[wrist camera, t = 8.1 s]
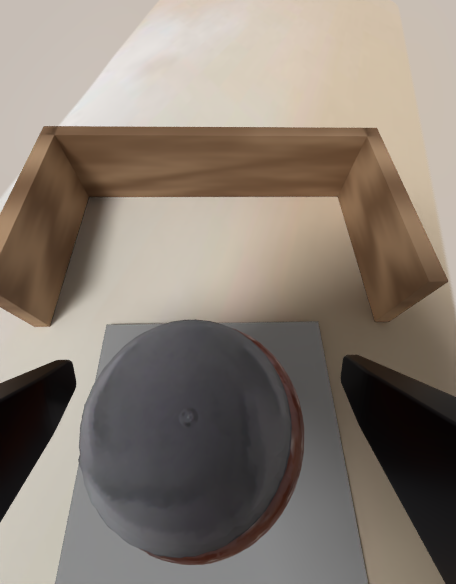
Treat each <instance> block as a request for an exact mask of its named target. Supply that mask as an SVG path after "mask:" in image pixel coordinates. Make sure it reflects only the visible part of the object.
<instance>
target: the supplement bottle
mask: <svg viewBox="0 0 456 584" xmlns="http://www.w3.org/2000/svg"><path fill="white" fill-rule="evenodd" d="M79 449H80V456H79V459H78V460H79V466H80V468H81V470H82V474H83V480H84V485H85V487H86V490H87V493H88V496H89V498H90V501H91V503H92V505H93V506H94V507H95V508H96V510H97V512H98V513H99V515H100V517H101V518H102V519H103V521H104V522H105V523H106V525H107V526H108V527H109V528H110V529H111V530H113V531H114V532H115V533H117V534H118V535H119V536H120V537H121V538H122V539H123V540H124V541H126V542H127V543H128V544H130V545H132V546H134V547H137V548H139V549H140V550H142V551H144V552H146V553H147V554H149V555H150V556H152V557H155V558H157V559H160V560H162V561H167V562H171V563H176V564H181V565H204V564H211V563H215V562H218V561H222V560H224V559H227V558H229V557H232V556H234V555H236V554H238V553H240V552H242V551H243V550H245V549H247V548H249V547H250V546H252V545H253V544H254V543H256V542H257V541H258V540H259V539H260V538H261V537H262V536H263V535H264V534H266V533H267V532H268V531H269V530H270V529H271V527H272V526H273V525H274V524H275V522H276V521H277V520H278V518H279V517H280V516H281V514H282V513H283V511H284V509H285V508H286V506H287V504H288V502H289V500H290V498H291V496H292V494H293V492H294V490H295V487H296V484H297V481H298V478H299V474H300V471H301V467H302V460H303V454H304V422H303V415H302V411H301V406H300V402H299V398H298V396H297V393H296V390H295V388H294V386H293V384H292V381H291V380H290V378H289V376H288V374H287V373H286V371H285V369H284V368H283V367H282V365H281V364H280V363H279V361H278V360H277V359H276V357H275V356H274V355H273V354H272V353H271V352H270V351H269V350H268V349H267V348H265V347H264V346H263V345H262V344H261V343H260V342H258V341H257V340H255V339H253V338H252V337H251V336H249V335H247V334H245V333H242V332H240V331H238V330H236V329H233V328H230V327H228V326H225V325H222V324H218V323H215V322H211V321H202V320H182V321H174V322H170V323H166V324H162V325H160V326H157V327H155V328H152V329H150V330H148V331H146V332H144V333H142V334H140V335H139V336H137V337H135V338H134V339H133V340H131V341H130V342H129V343H127V344H126V345H125V346H124V347H123V348H122V349H121V350H120V351H119V352H118V353H117V354H116V355H115V356H114V357H113V358H112V359H111V361H110V362H109V363H108V364H107V365H106V366H105V367H104V369H103V370H102V372H101V373H100V375H99V376H98V378H97V380H96V382H95V384H94V385H93V387H92V389H91V392H90V394H89V397H88V399H87V401H86V403H85V405H84V411H83V414H82V421H81V425H80V440H79Z"/></svg>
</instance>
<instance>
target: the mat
mask: <svg viewBox="0 0 456 584" xmlns="http://www.w3.org/2000/svg"><path fill="white" fill-rule="evenodd" d="M218 324H222V325H225V326H228V327H230V328H233V329H236V330H238V331H240V332H242V333H245V334H247V335H249V336H251V337H252V338H253V339H255V340H257V341H258V342H260V343H261V344H262V345H263V346H264V347H265V348H267V349H268V350H269V351H270V352H271V353H272V354H273V355H274V356H275V357H276V359H277V360H278V361H279V363H280V364H281V365H282V367H283V368H284V369H285V371H286V373H287V374H288V376H289V378H290V380H291V381H292V384H293V386H294V388H295V390H296V393H297V396H298V398H299V402H300V406H301V411H302V415H303V422H304V454H303V460H302V467H301V471H300V474H299V478H298V481H297V484H296V487H295V490H294V492H293V494H292V496H291V498H290V500H289V502H288V504H287V506H286V508H285V509H284V511H283V513H282V514H281V516H280V517H279V518H278V520H277V521H276V522H275V524H274V525H273V526H272V527H271V529H270V530H269V531H268V532H267V533H266V534H264V535H263V536H262V537H261V538H260V539H259V540H258V541H257V542H256V543H254V544H253V545H252V546H250V547H249V548H247V549H245V550H243V551H242V552H240V553H238V554H236V555H234V556H232V557H229V558H227V559H224V560H222V561H218V562H215V563H211V564H204V565H181V564H176V563H171V562H167V561H162V560H160V559H157V558H155V557H152V556H150V555H149V554H147V553H146V552H144V551H142V550H140V549H139V548H137V547H134V546H132V545H130V544H128V543H127V542H126V541H124V540H123V539H122V538H121V537H120V536H119V535H118V534H117V533H115V532H114V531H113V530H111V529H110V528H109V527H108V526H107V525H106V523H105V522H104V521H103V519H102V518H101V517H100V515H99V513H98V512H97V510H96V508H95V507H94V506H93V505H92V503H91V501H90V498H89V496H88V493H87V490H86V487H85V485H84V480H83V474H82V470H81V468H80V466H79V465H78V470H77V475H76V480H75V485H74V490H73V496H72V501H71V506H70V511H69V516H68V521H67V526H66V531H65V536H64V541H63V546H62V551H61V556H60V561H59V566H58V571H57V576H56V581H55V584H368V580H367V575H366V570H365V564H364V559H363V554H362V549H361V544H360V538H359V533H358V528H357V523H356V517H355V512H354V507H353V502H352V496H351V491H350V486H349V481H348V476H347V470H346V465H345V460H344V455H343V449H342V444H341V439H340V434H339V428H338V423H337V418H336V413H335V407H334V402H333V397H332V392H331V387H330V381H329V376H328V371H327V366H326V360H325V355H324V350H323V345H322V339H321V334H320V329H319V324H318V322H252V323H218ZM160 325H162V324H116V325H106V330H105V335H104V340H103V345H102V350H101V355H100V360H99V365H98V370H97V375H96V380H97V378H98V376H99V375H100V373H101V372H102V370H103V369H104V367H105V366H106V365H107V364H108V363H109V362H110V361H111V359H112V358H113V357H114V356H115V355H116V354H117V353H118V352H119V351H120V350H121V349H122V348H123V347H124V346H125V345H126V344H127V343H129V342H130V341H131V340H133V339H134V338H135V337H137V336H139V335H140V334H142V333H144V332H146V331H148V330H150V329H152V328H155V327H157V326H160ZM96 380H95V382H96Z"/></svg>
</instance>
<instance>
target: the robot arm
mask: <svg viewBox="0 0 456 584" xmlns="http://www.w3.org/2000/svg"><path fill="white" fill-rule="evenodd" d="M341 383H342V386H343V388H344V391H345V393H346V395H347V398H348V400H349V403H350V405H351V407H352V410H353V412H354V415H355V417H356V419H357V421H358V424H359V426H360V428H361V430H362V432H363V433H364V435H365V437H366V439H367V441H368V443H369V444H370V446H371V448H372V450H373V452H374V454H375V455H376V457H377V459H378V461H379V463H380V465H381V466H382V468H383V470H384V472H385V474H386V476H387V477H388V479H389V481H390V483H391V485H392V487H393V488H394V490H395V492H396V494H397V496H398V497H399V499H400V501H401V503H402V505H403V507H404V508H405V510H406V512H407V514H408V516H409V518H410V519H411V521H412V523H413V525H414V527H415V529H416V530H417V532H418V534H419V536H420V538H421V540H422V541H423V543H424V545H425V547H426V549H427V551H428V552H429V554H430V556H431V558H432V560H433V562H434V563H435V565H436V567H437V569H438V571H439V573H440V574H441V576H442V578H443V580H444V582H445V584H456V397H454V396H452V395H450V394H447V393H445V392H443V391H440V390H438V389H436V388H433V387H431V386H429V385H426V384H424V383H422V382H419V381H417V380H415V379H412V378H410V377H408V376H405V375H403V374H401V373H399V372H396V371H394V370H392V369H389V368H387V367H385V366H382V365H380V364H378V363H375V362H373V361H371V360H368V359H366V358H364V357H361V356H359V355H346V356H344V358H343V364H342V371H341ZM75 388H76V378H75V373H74V368H73V364H72V362H71V361H70V360H56V361H53V362H51V363H49V364H46V365H44V366H41V367H39V368H36V369H34V370H32V371H29V372H27V373H24V374H22V375H19V376H17V377H15V378H12V379H10V380H7V381H5V382H2V383H0V522H1V520H2V519H3V517H4V516H5V514H6V512H7V511H8V509H9V507H10V506H11V504H12V502H13V501H14V499H15V497H16V496H17V494H18V492H19V491H20V489H21V487H22V486H23V484H24V482H25V481H26V479H27V477H28V476H29V474H30V472H31V471H32V469H33V467H34V466H35V464H36V462H37V461H38V459H39V457H40V456H41V454H42V452H43V451H44V449H45V448H46V446H47V444H48V443H49V441H50V439H51V437H52V436H53V434H54V432H55V430H56V428H57V426H58V424H59V422H60V420H61V418H62V416H63V414H64V412H65V410H66V407H67V405H68V403H69V401H70V399H71V397H72V395H73V393H74V391H75Z"/></svg>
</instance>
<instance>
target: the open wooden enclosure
mask: <svg viewBox="0 0 456 584" xmlns="http://www.w3.org/2000/svg"><path fill="white" fill-rule="evenodd" d="M237 196H338V198H339V202H340V205H341V209H342V212H343V215H344V219H345V222H346V225H347V229H348V232H349V236H350V239H351V242H352V246H353V249H354V252H355V256H356V259H357V263H358V266H359V269H360V273H361V276H362V280H363V283H364V286H365V290H366V293H367V296H368V300H369V303H370V307H371V310H372V313H373V317H374V320H375V322H385V321H391V320H392V319H394V318H395V317H397V316H398V315H400V314H401V313H402V312H404V311H405V310H407V309H408V308H410V307H411V306H413V305H414V304H416V303H417V302H419V301H420V300H422V299H423V298H425V297H426V296H428V295H429V294H431V293H432V292H434V291H435V290H437V289H438V288H439V287H441V286H442V285H444V284H445V283H447V282H448V279H447V277H446V275H445V273H444V271H443V269H442V267H441V264H440V262H439V260H438V258H437V256H436V254H435V252H434V249H433V247H432V245H431V243H430V241H429V239H428V237H427V234H426V232H425V230H424V228H423V226H422V224H421V222H420V219H419V217H418V215H417V213H416V211H415V209H414V207H413V204H412V202H411V200H410V198H409V196H408V194H407V192H406V189H405V187H404V185H403V183H402V181H401V179H400V177H399V174H398V172H397V170H396V168H395V166H394V164H393V162H392V159H391V157H390V155H389V153H388V151H387V149H386V147H385V144H384V142H383V140H382V138H381V136H380V134H379V132H378V129H377V128H285V127H86V126H44V127H43V129H42V131H41V133H40V135H39V137H38V139H37V141H36V143H35V145H34V147H33V149H32V151H31V153H30V155H29V157H28V159H27V161H26V163H25V165H24V167H23V169H22V171H21V173H20V175H19V177H18V179H17V181H16V183H15V185H14V187H13V190H12V192H11V194H10V196H9V198H8V200H7V202H6V204H5V206H4V208H3V210H2V212H1V214H0V307H1V308H3V309H4V310H6V311H8V312H10V313H11V314H13V315H15V316H17V317H18V318H20V319H22V320H24V321H25V322H27V323H29V324H31V325H32V326H34V327H47V326H50V324H51V321H52V317H53V314H54V311H55V307H56V304H57V301H58V297H59V294H60V291H61V287H62V284H63V281H64V278H65V274H66V271H67V268H68V264H69V261H70V258H71V254H72V251H73V248H74V244H75V241H76V238H77V235H78V231H79V228H80V225H81V221H82V218H83V215H84V211H85V208H86V205H87V201H88V198H89V197H237Z"/></svg>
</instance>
